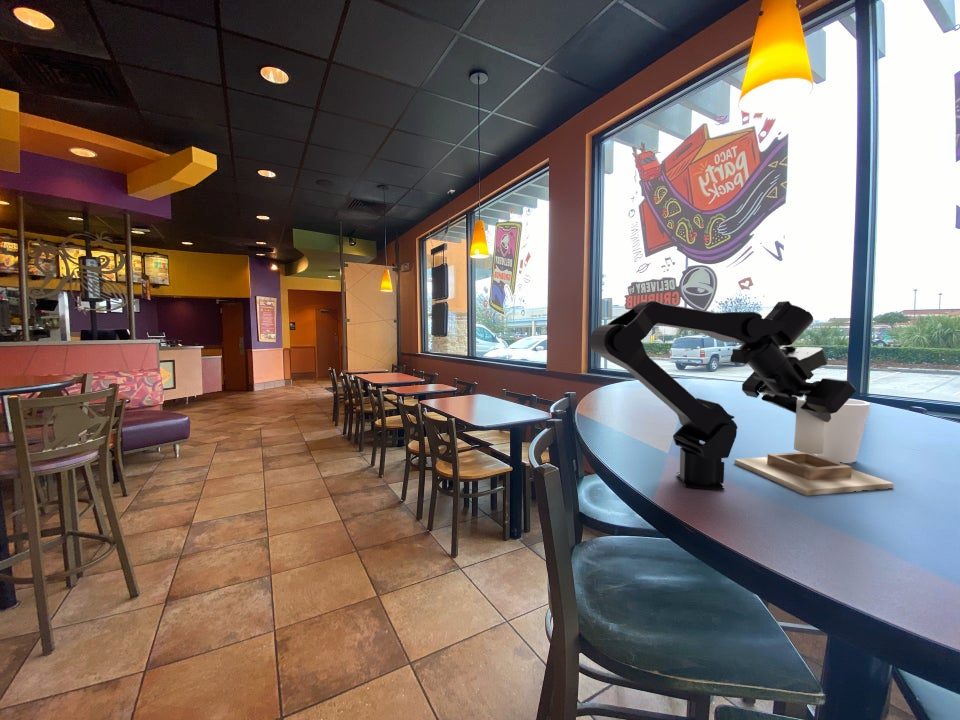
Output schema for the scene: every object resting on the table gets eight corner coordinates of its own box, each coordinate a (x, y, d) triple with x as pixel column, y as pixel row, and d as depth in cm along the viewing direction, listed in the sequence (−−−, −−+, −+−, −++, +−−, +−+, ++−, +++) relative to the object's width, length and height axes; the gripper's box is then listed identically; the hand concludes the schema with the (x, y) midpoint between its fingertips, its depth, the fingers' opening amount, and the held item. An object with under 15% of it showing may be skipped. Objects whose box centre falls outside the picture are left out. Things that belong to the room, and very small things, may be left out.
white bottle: (814, 455, 73) (818, 398, 72) (788, 448, 77) (792, 394, 76) (828, 452, 75) (832, 396, 74) (802, 445, 79) (805, 393, 78)
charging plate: (806, 495, 67) (807, 479, 67) (734, 463, 83) (734, 450, 83) (893, 488, 69) (894, 472, 69) (807, 458, 85) (808, 445, 85)
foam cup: (845, 467, 80) (849, 406, 78) (798, 453, 88) (801, 398, 87) (876, 462, 82) (881, 403, 81) (827, 449, 91) (831, 395, 90)
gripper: (850, 333, 64) (901, 396, 66) (756, 332, 82) (798, 381, 85) (806, 381, 64) (858, 443, 66) (721, 369, 82) (764, 417, 84)
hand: (816, 417), depth 75 cm, fingers closed on white bottle, 4 cm apart
